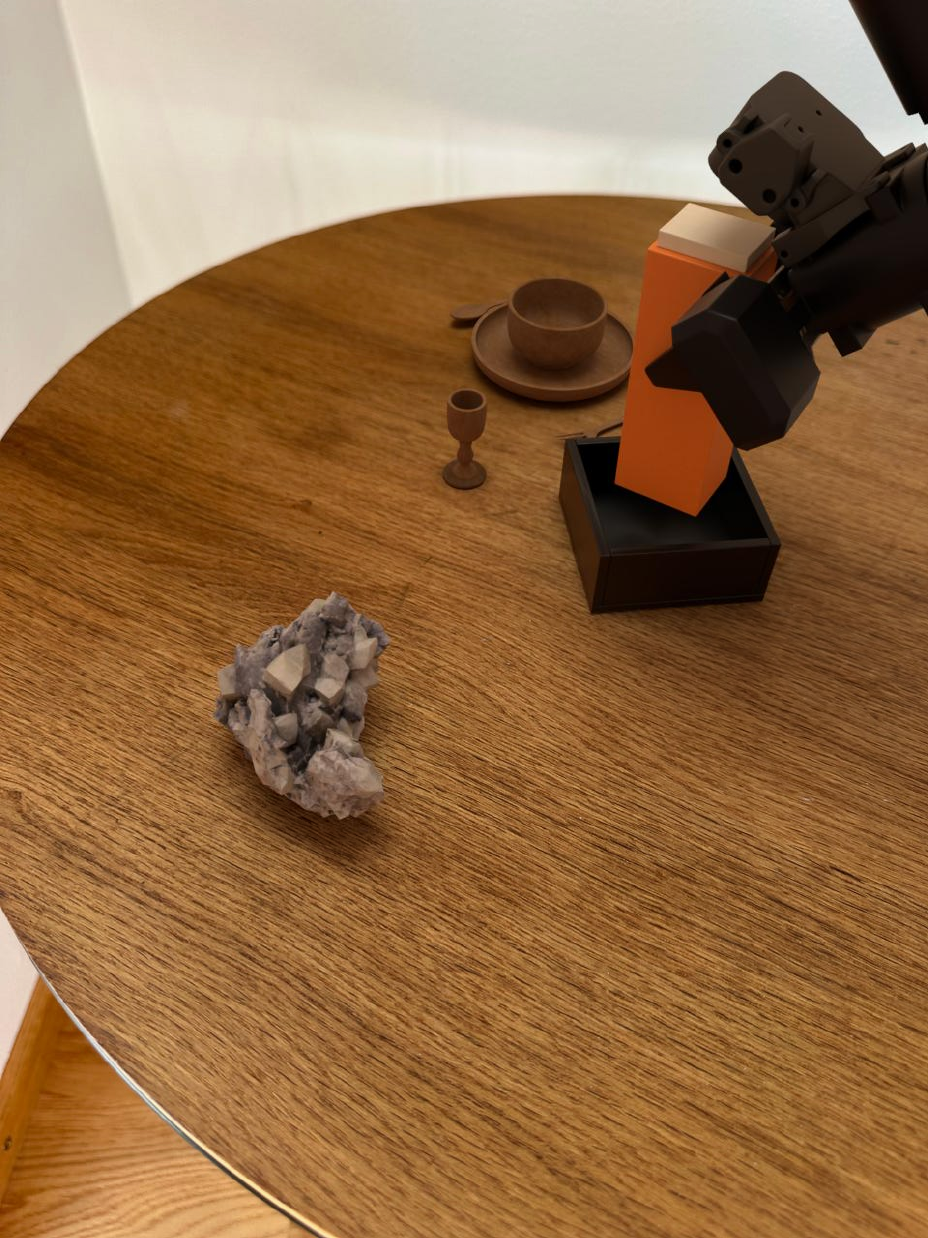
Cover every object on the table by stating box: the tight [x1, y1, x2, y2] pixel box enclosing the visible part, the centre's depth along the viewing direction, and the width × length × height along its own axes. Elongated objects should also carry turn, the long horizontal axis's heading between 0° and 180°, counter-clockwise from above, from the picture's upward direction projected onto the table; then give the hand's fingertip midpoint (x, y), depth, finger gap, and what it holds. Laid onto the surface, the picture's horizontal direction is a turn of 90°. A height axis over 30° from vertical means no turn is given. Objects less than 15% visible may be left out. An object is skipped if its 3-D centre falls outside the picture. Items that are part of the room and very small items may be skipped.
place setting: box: [442, 276, 636, 490], centre depth 74 cm, size 18×20×6 cm
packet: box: [615, 202, 778, 516], centre depth 55 cm, size 5×4×15 cm
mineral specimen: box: [210, 590, 393, 820], centre depth 52 cm, size 12×9×10 cm
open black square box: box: [558, 435, 782, 615], centre depth 64 cm, size 10×10×5 cm
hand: (668, 356), depth 55 cm, fingers closed on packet, 4 cm apart
